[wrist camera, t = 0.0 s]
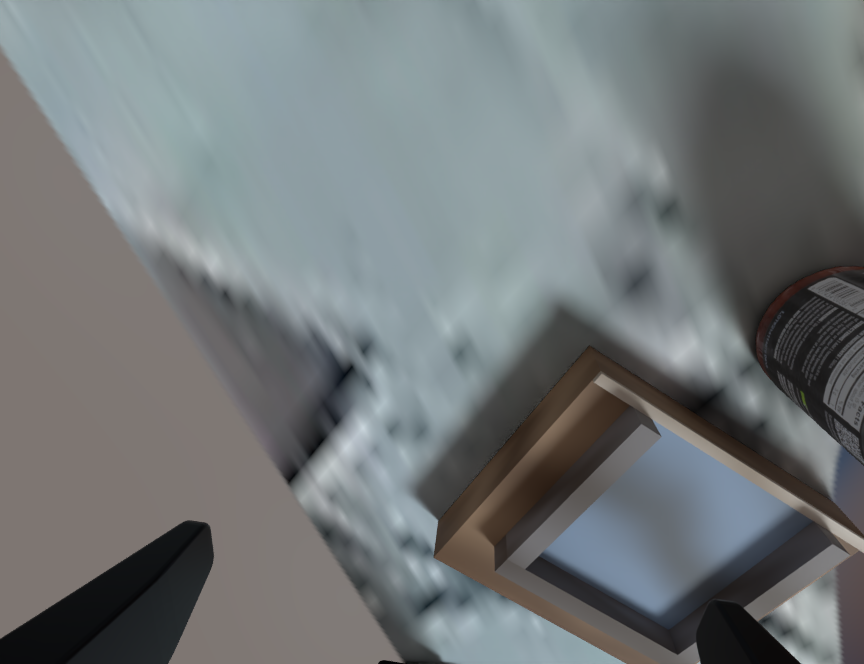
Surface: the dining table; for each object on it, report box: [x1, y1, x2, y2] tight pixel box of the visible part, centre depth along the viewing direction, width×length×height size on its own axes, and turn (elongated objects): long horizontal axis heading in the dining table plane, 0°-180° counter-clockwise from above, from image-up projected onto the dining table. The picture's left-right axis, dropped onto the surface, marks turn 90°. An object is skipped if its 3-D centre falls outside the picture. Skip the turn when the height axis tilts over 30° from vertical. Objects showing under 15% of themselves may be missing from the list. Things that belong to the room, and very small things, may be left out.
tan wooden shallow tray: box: [434, 346, 864, 664], centre depth 24 cm, size 13×15×4 cm
